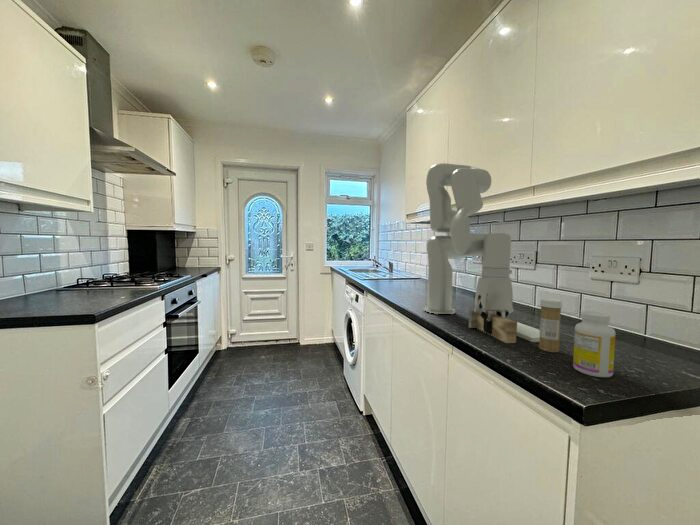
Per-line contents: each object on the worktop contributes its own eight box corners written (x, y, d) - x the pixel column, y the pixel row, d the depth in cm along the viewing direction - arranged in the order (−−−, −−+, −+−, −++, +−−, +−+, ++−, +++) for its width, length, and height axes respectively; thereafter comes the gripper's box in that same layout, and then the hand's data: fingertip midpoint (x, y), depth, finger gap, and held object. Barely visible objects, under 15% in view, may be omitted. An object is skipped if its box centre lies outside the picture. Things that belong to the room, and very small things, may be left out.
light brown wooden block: (522, 342, 80) (523, 321, 80) (500, 343, 79) (501, 322, 78) (487, 327, 95) (488, 309, 94) (468, 327, 94) (469, 310, 93)
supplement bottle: (599, 367, 64) (603, 311, 63) (621, 380, 57) (625, 318, 56) (566, 364, 65) (569, 309, 64) (583, 376, 59) (587, 316, 58)
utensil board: (494, 326, 96) (494, 323, 96) (517, 325, 97) (517, 322, 97) (531, 342, 80) (532, 338, 80) (559, 340, 82) (559, 336, 82)
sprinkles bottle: (560, 350, 74) (563, 299, 73) (557, 354, 71) (560, 301, 70) (540, 345, 77) (543, 297, 77) (536, 349, 74) (538, 299, 74)
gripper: (510, 272, 91) (507, 328, 92) (464, 272, 88) (461, 330, 89) (528, 274, 84) (525, 335, 85) (478, 274, 81) (476, 337, 82)
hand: (492, 332), depth 87 cm, fingers closed on light brown wooden block, 2 cm apart
